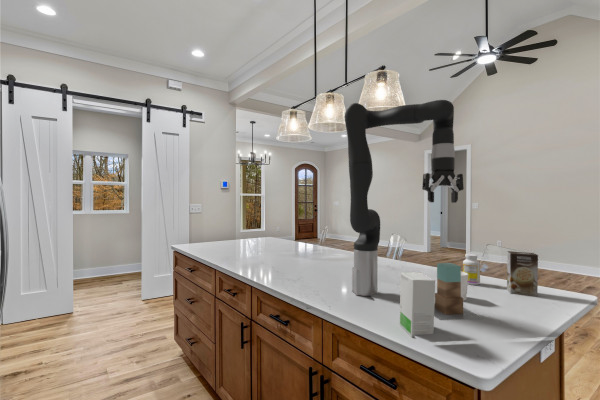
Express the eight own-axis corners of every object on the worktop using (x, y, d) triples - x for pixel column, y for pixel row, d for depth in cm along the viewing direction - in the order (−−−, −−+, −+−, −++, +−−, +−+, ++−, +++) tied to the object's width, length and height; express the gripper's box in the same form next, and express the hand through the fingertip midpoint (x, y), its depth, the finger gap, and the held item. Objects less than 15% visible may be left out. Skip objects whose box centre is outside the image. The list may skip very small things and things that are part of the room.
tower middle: (445, 298, 95) (445, 282, 95) (437, 293, 100) (437, 278, 100) (460, 297, 96) (460, 281, 96) (451, 293, 101) (451, 278, 101)
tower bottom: (445, 314, 95) (445, 298, 95) (434, 307, 101) (434, 292, 101) (463, 314, 95) (463, 298, 95) (451, 307, 101) (451, 292, 101)
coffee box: (509, 293, 120) (509, 253, 120) (506, 289, 126) (506, 250, 126) (538, 296, 116) (538, 254, 117) (533, 292, 122) (533, 252, 122)
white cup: (465, 297, 114) (465, 271, 115) (470, 304, 107) (470, 276, 107) (443, 295, 117) (443, 269, 117) (445, 301, 110) (445, 274, 110)
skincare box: (399, 325, 88) (399, 272, 88) (420, 324, 89) (420, 271, 89) (412, 338, 80) (412, 279, 80) (435, 337, 80) (436, 278, 81)
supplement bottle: (469, 280, 140) (469, 253, 140) (483, 284, 134) (483, 255, 134) (459, 282, 137) (459, 254, 137) (473, 286, 131) (473, 256, 131)
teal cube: (445, 282, 95) (445, 266, 95) (437, 278, 100) (437, 263, 100) (460, 281, 96) (460, 266, 96) (451, 278, 101) (451, 263, 101)
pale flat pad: (440, 322, 90) (440, 320, 90) (417, 306, 104) (417, 304, 104) (484, 321, 92) (484, 318, 92) (455, 305, 106) (455, 303, 106)
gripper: (429, 155, 104) (429, 202, 104) (468, 156, 106) (468, 202, 106) (418, 158, 112) (418, 202, 112) (455, 159, 113) (455, 202, 113)
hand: (442, 202), depth 109 cm, fingers open, 8 cm apart
